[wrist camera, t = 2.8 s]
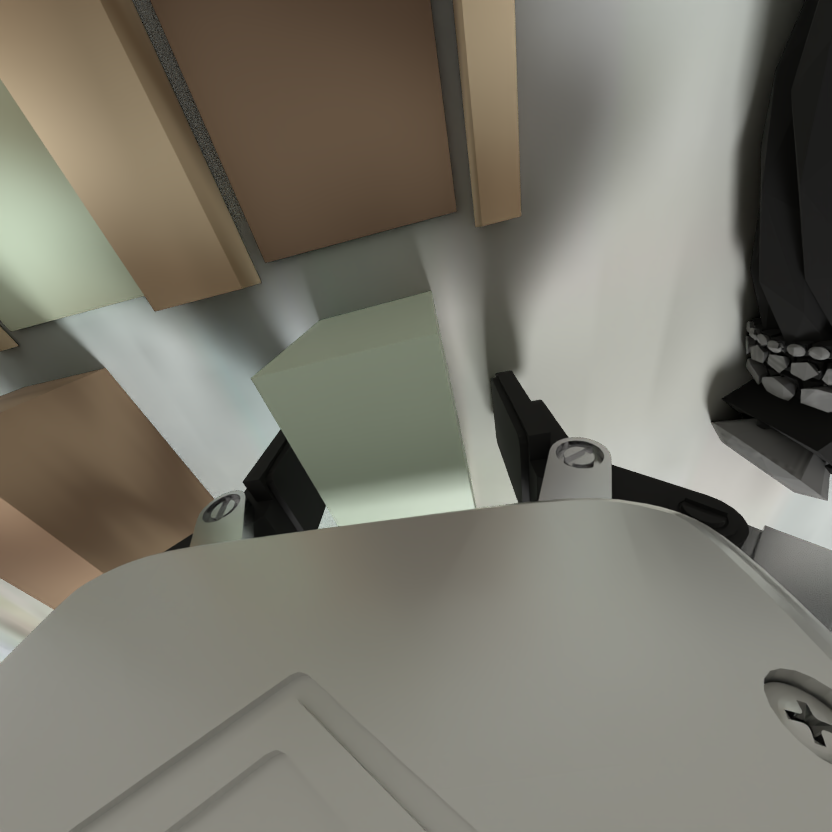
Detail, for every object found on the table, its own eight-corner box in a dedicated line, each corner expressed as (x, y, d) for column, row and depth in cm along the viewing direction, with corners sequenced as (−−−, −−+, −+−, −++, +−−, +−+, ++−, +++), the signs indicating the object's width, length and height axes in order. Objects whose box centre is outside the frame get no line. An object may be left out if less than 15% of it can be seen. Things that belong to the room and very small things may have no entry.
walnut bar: (232, 517, 16) (164, 618, 12) (168, 526, 17) (82, 626, 12) (109, 366, 12) (-73, 443, 7) (27, 386, 12) (-187, 468, 8)
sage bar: (471, 481, 14) (491, 585, 10) (393, 495, 15) (380, 598, 11) (431, 290, 10) (437, 332, 6) (320, 319, 10) (250, 378, 6)
